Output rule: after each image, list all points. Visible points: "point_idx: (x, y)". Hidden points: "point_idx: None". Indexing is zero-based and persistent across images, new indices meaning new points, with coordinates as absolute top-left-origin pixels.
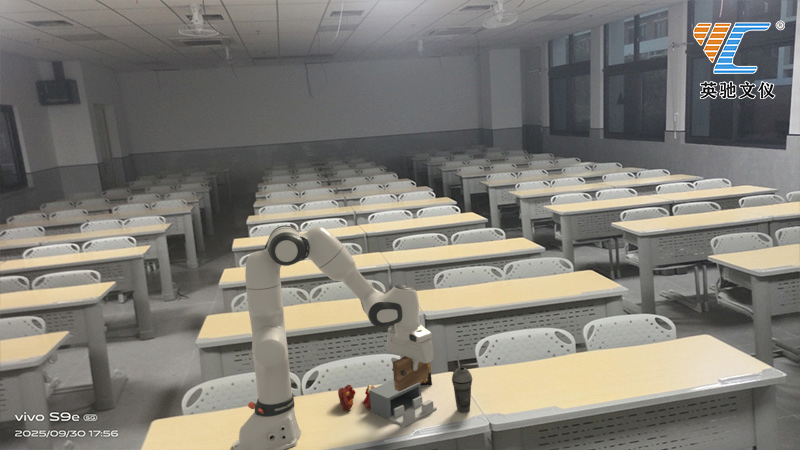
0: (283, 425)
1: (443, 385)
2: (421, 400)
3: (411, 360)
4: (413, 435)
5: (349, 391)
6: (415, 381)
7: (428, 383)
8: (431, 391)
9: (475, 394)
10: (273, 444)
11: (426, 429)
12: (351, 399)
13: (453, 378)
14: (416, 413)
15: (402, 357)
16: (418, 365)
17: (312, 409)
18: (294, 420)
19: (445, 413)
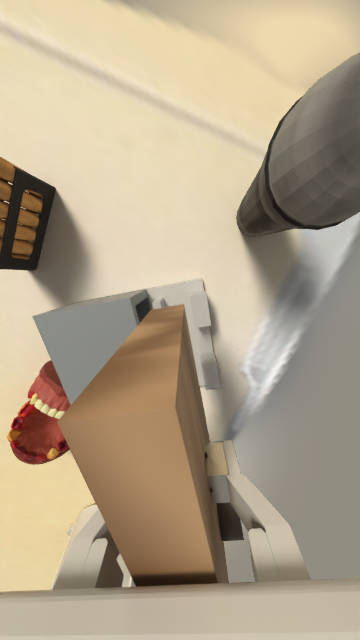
0: (133, 581)
1: (77, 155)
2: (162, 303)
3: (217, 553)
4: (260, 384)
5: (26, 425)
6: (198, 384)
7: (48, 197)
8: (96, 220)
9: (201, 99)
10: None
11: (261, 352)
12: None
13: (321, 219)
14: (194, 336)
15: (117, 582)
16: (199, 420)
17: (44, 464)
18: (120, 559)
19: (233, 271)
